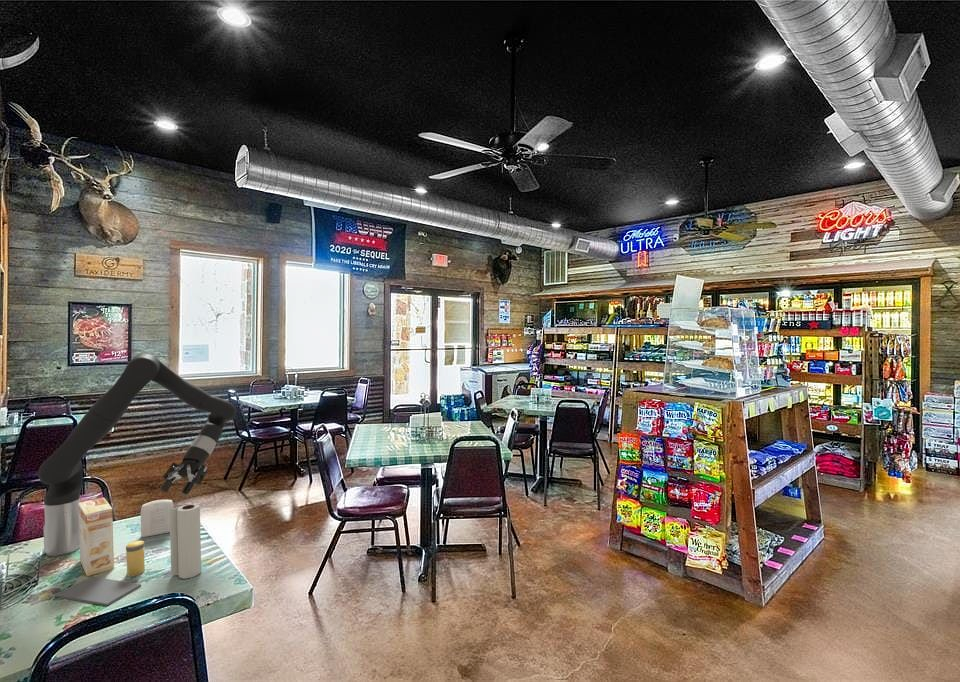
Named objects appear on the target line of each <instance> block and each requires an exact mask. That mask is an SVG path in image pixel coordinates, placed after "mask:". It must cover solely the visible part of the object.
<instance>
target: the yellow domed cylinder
mask: <svg viewBox="0 0 960 682" xmlns="http://www.w3.org/2000/svg"><path fill="white" fill-rule="evenodd" d="M125 551H126V553H125V554H126V575H127V576H128V577H134V576H138V575H141V574H143V573H144V572H145V569H146V568H145V567H146V566H145V565H146V564H145V541H144V540H135V541H132V542H130V543H128V544H126V546H125Z"/></svg>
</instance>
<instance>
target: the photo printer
mask: <svg viewBox="0 0 960 682" xmlns="http://www.w3.org/2000/svg"><path fill="white" fill-rule="evenodd" d="M173 508H175V505H174V502H173V500H172V499H156V500H152V501H149V502H146V503H144V504H142V505H141V509H140V537H141V538H148V537H153V536H157V535H161V534H167V533H170V509H173Z"/></svg>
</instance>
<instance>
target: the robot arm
mask: <svg viewBox="0 0 960 682" xmlns="http://www.w3.org/2000/svg"><path fill="white" fill-rule="evenodd" d="M121 373H122V374H121V375H120V376H119V377H118V379H117V380H116V381H115V383H114V384H113V386H112V387H111V388H110V389H108V390H107V391H106V392H105V393H104V394H103V395H102V396H101V397H99V398H98V400H97V401H95V403H94V404H93V405H92V406H91V407H89V410H88V411H86V413H85V414H84V415H83V417H82V418H81V419H80V420H79V422H78V423H77V425H76V426H75V427H74V428H73V429H72V431H71V432H70V434H68V436H67V438H66V439H65V440H64V442H62V444H60V446H58V448H57V449H56V450H55V451H54V452H53V453H52V454H51V455H50V456H49V457H47V459H45V461H43V462H42V464H41V465H40V466H39V469H38V472H37V476H38V479H39V481H40V482H41V483H43V484H44V485H47V486H48V489H47V491H46V493H45V495H44V497H43V501H44V502H43V503H44V505H43V506H44V524H43V528H42V529H43V549H44V550H43V552H44V553H45V554H46V556H48V557H56V556H62V555H63V556H64V555H67V554H69V553H73V552H75V551H77V550H80V542H79V509H78V503H80V502H81V491H82V488H83V475H84V474H83V470H84V469H83V462H82V459H83V457H84V456H85V455H86V454H87V453H88V451H90V449H92V448H93V447H94V446H96V445H97V444H98V443H99V442H100V441H102V439H103V438H105V436H107V434H109V433H110V432H111V431H112V430H113V429H114V427H115V426H116V425H117V423H118V422H119V421H120V420H121V419H122V417H123V416H124V414H125V413H126V411H127V410H128V409H129V407H130V405H131V404H132V402H133V400H134V398H135V397H136V396H137V395H138V394H140V392H141V391H142V390H143V389H144V388H145V387H146V385H148V384H149V383H150V382H153V383H156V384H157V385H160V386H161V387H163V388H165V389H166V390H168V391H169V392H170V393H172V394H173V395H174V396H175V397H176V398H177V399H179V400H180V401H182V402H183V403H185V404H186V405H188V406H190V407H192V408H193V409H195V410H196V411H199V412H208V413H209V415H208V416H207V419H206V421H205V422H204V425H203V427H202V428H201V430H200V431H199V432H198V435H196V437H195V439H193V441H192V442H191V444H190V445H189V447H188V449H187V450H186V451H185V453H184V455H183V456H182V461H181V462H180V463H176V462H174V461H173V462H172V463H171V465H170V466H169V468H168V469H167V470H166V472H165V473H164V474H163V476H162V477H163V478H164V480H165V482H164V484H163V485H162V487H160V488H161V489H160V491H161V492H163V493H168V491H169V490H170V488H171V486H172V485H173V483H174V482H175V481H176V480H180V479H181V478H187V479H188V481H187V482H186V484H185V486H184V487H183V488H182V490H181V494H183V495H188V494H189V493H190V492H191V491H192V489H193V487H194V486H195V485H196V484H201V483H202V482H203V480H204V478H205V476H206V474H207V472H208V471H209V468H208V467H207V465H205V464H206V463H207V461H208V459H209V457H211V454H212V453H213V451H214V449H215V447H216V445H217V443H218V441H219V440H220V438H221V436H222V435H223V429H224V427H225V426H226V424H227V423H228V422H229V421H231V420H233V419H234V418H235V417H236V415H237V408H236V406H235V405H234V404H233V403H231V402H230V401H228V400H225V399H224V398H221V397H218V396H215V395H214V396H213V395H212V394H210V393H209V392H207V391H205V390H204V389H202V388H200V387H198V386H197V385H195V384H194V383H191V382H190V381H188V380H187V379H186V378H183V377H182V376H180V375H179V374H177V373H175V372H174V371H173V370H171V369H170V368H169V367H167V365H165V364H164V363H163V362H162V361H160V360H159V358H157V357H156V356H155V355H153V354H150V353H139V354H137V355H135V356H134V357H132V358H131V359H130V361H129V362H128V363H127V365H126V367H125V368H124V370H123V372H121Z"/></svg>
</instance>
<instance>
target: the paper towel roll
mask: <svg viewBox="0 0 960 682" xmlns="http://www.w3.org/2000/svg"><path fill="white" fill-rule="evenodd" d="M169 537H170V538H169V539H170V545H169V547H170V576H171V577H174V576H176V575H178V577H179V578H180V579H184V580H185V579H190V578H194V577H197V576H198V575H199V574H200V573H201V572H202V548H201V547H202V545H201V544H202V543H201V541H202V538H201V505H200V504H199V503H188V504H183V505H180V506H177V507H174V508H173V509H170V532H169Z"/></svg>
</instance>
